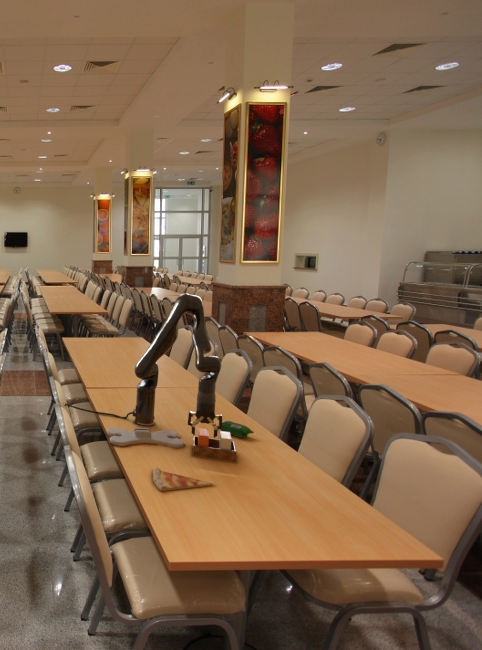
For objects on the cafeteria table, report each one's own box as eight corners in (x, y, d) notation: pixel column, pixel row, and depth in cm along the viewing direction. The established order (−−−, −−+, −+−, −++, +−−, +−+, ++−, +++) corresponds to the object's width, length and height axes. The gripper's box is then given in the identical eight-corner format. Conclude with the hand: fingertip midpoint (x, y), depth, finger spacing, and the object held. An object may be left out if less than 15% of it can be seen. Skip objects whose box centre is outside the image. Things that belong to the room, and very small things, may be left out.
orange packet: (197, 454, 223) (199, 435, 221) (197, 447, 231) (198, 428, 230) (207, 456, 221) (208, 436, 220) (206, 448, 230) (208, 429, 228)
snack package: (246, 441, 240) (247, 430, 240) (215, 430, 253) (216, 420, 252) (254, 438, 244) (255, 427, 244) (223, 428, 257) (224, 418, 256)
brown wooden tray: (192, 456, 222) (193, 445, 221) (192, 446, 233) (193, 435, 232) (235, 462, 216) (236, 451, 215) (233, 451, 227) (233, 441, 227)
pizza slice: (204, 502, 182) (205, 497, 181) (143, 486, 193) (143, 481, 193) (212, 485, 195) (212, 480, 195) (154, 471, 206) (154, 466, 206)
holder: (105, 431, 251) (106, 421, 250) (175, 433, 248) (176, 423, 248) (111, 446, 232) (111, 435, 231) (186, 449, 230) (187, 438, 229)
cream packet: (219, 457, 219) (221, 438, 218) (218, 450, 228) (220, 430, 227) (230, 459, 218) (231, 439, 217) (228, 451, 226) (229, 432, 225)
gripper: (223, 400, 224) (220, 435, 226) (188, 396, 229) (187, 431, 231) (224, 404, 217) (221, 441, 219) (188, 401, 222) (187, 436, 224)
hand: (204, 435), depth 225 cm, fingers open, 8 cm apart
